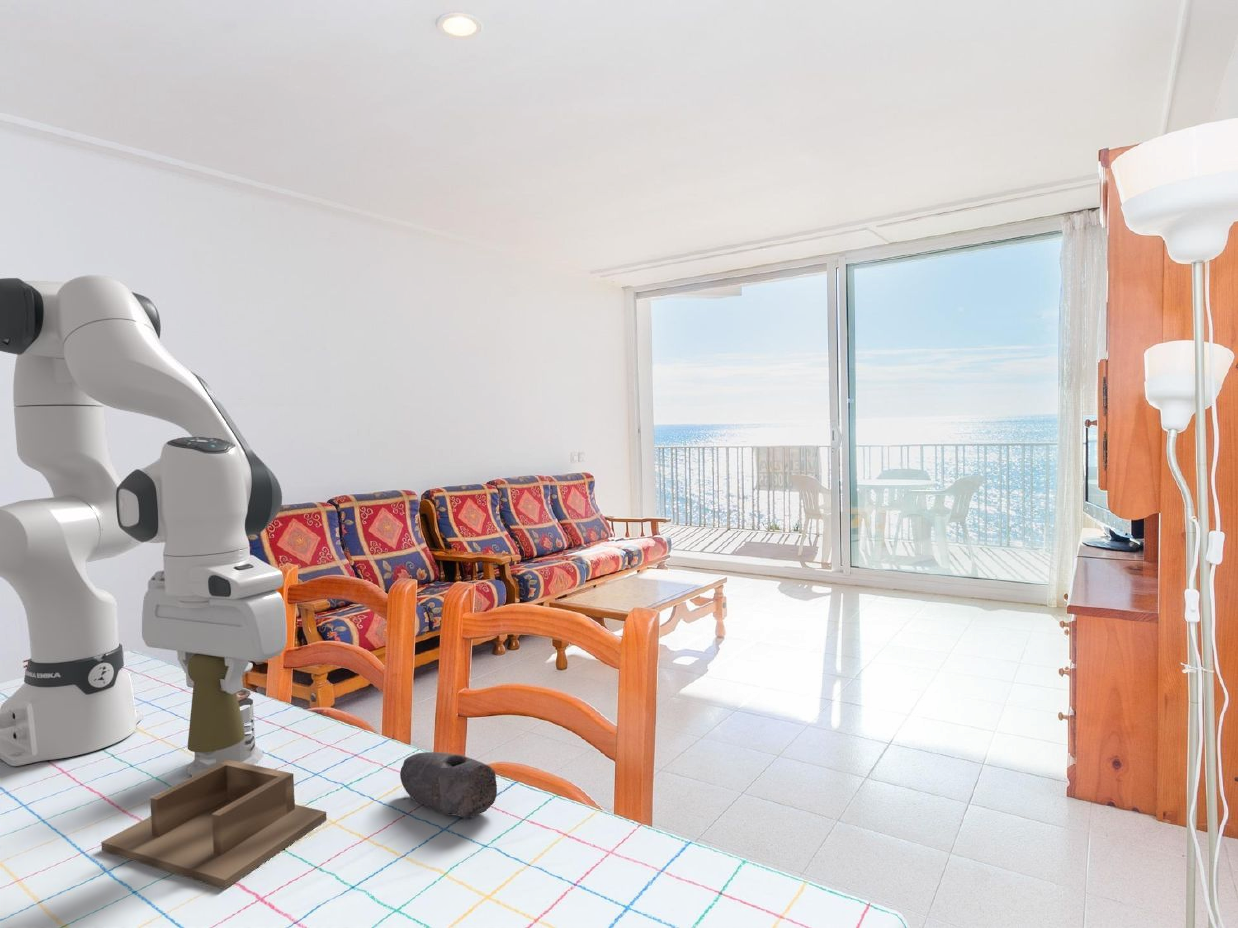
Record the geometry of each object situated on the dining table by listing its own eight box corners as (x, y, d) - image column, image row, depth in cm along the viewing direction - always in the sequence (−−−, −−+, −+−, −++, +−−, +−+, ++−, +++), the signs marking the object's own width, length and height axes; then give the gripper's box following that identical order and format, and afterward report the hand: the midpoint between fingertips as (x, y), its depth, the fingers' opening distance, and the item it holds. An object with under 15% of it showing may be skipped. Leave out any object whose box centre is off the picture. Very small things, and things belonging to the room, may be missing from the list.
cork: (218, 754, 80) (213, 659, 80) (174, 750, 82) (169, 657, 81) (256, 732, 86) (252, 643, 86) (215, 728, 88) (210, 641, 87)
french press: (194, 785, 96) (185, 605, 95) (178, 756, 105) (170, 591, 104) (271, 761, 103) (263, 592, 101) (250, 736, 111) (243, 581, 110)
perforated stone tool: (387, 800, 91) (385, 748, 91) (419, 783, 95) (417, 733, 95) (472, 834, 83) (470, 777, 83) (502, 813, 87) (500, 759, 87)
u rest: (101, 850, 81) (99, 803, 81) (211, 791, 94) (209, 751, 94) (225, 888, 74) (223, 838, 73) (326, 819, 87) (324, 776, 86)
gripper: (123, 574, 84) (129, 688, 85) (247, 585, 76) (253, 709, 77) (173, 564, 90) (179, 671, 90) (294, 573, 82) (299, 689, 83)
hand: (214, 688), depth 84 cm, fingers closed on cork, 4 cm apart
